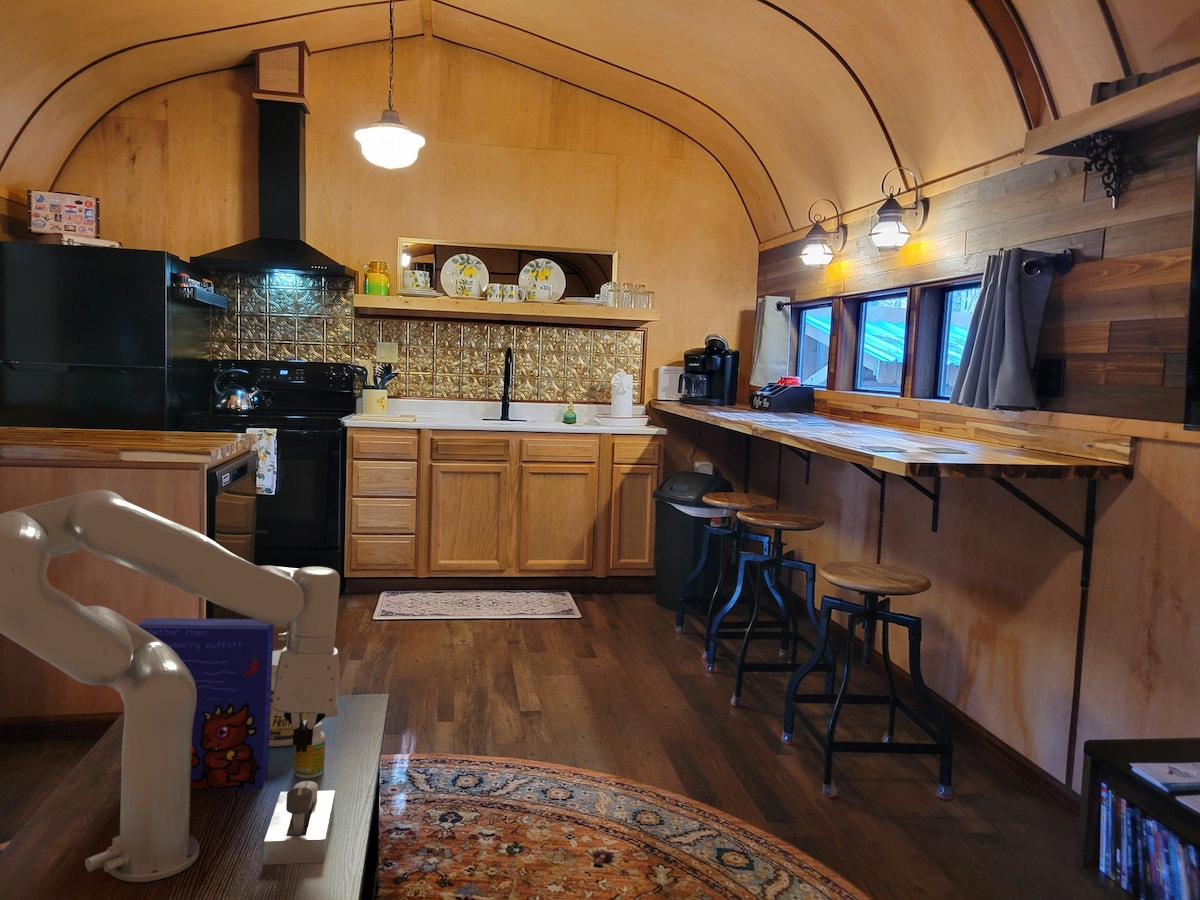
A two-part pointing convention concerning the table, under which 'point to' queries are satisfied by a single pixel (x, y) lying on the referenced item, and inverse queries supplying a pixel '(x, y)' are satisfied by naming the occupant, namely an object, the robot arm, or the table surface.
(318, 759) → the supplement bottle
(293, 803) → the charcoal knob
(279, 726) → the supplement tub
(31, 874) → the table surface
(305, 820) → the cream knob
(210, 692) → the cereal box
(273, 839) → the mount
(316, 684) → the robot arm
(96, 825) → the table surface
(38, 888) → the table surface
